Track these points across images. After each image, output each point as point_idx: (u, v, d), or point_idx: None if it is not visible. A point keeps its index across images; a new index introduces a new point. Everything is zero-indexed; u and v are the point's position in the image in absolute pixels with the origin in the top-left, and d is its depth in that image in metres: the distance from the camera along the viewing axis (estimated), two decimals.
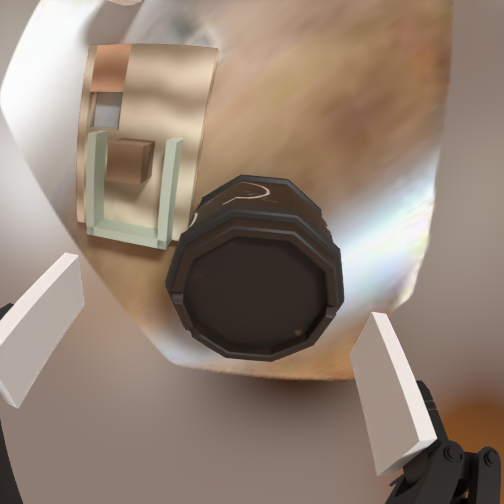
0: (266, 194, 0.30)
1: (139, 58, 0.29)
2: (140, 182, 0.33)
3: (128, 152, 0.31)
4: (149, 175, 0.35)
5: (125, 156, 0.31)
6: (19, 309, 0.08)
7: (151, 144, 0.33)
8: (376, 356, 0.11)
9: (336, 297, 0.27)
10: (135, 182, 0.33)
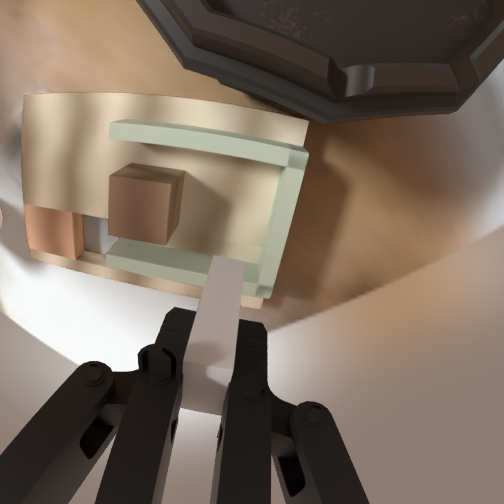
0: None
1: (35, 192, 0.23)
2: (168, 183, 0.19)
3: (119, 201, 0.20)
4: (178, 172, 0.22)
5: (126, 207, 0.20)
6: (207, 312, 0.11)
7: (127, 166, 0.21)
8: None
9: None
10: (167, 192, 0.19)
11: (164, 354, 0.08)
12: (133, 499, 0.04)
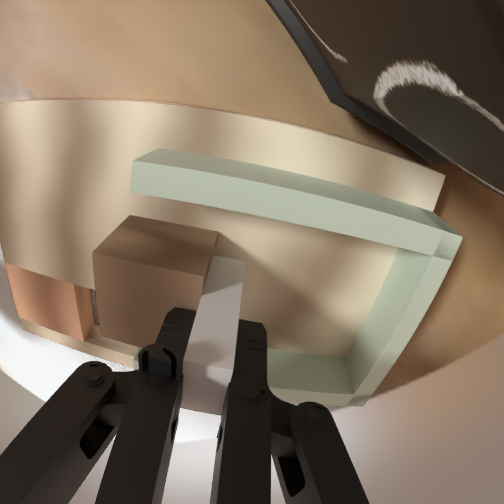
0: None
1: (19, 250, 0.15)
2: (199, 273, 0.11)
3: (113, 295, 0.12)
4: (209, 238, 0.14)
5: (126, 304, 0.12)
6: (207, 312, 0.11)
7: (122, 226, 0.13)
8: None
9: None
10: (197, 288, 0.11)
11: (164, 354, 0.08)
12: (133, 499, 0.04)
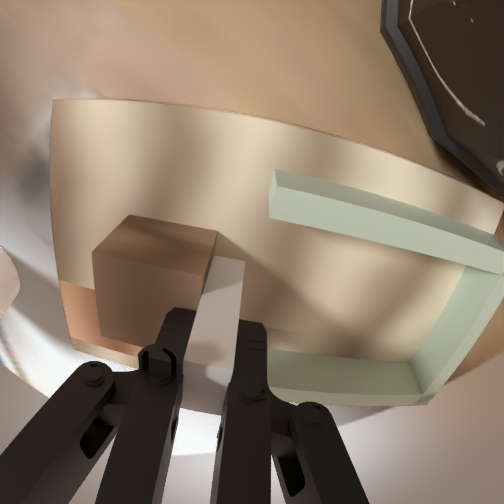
0: None
1: (81, 267, 0.16)
2: (198, 272, 0.11)
3: (113, 294, 0.12)
4: (208, 237, 0.14)
5: (126, 304, 0.12)
6: (207, 312, 0.11)
7: (122, 225, 0.13)
8: None
9: None
10: (196, 288, 0.11)
11: (164, 354, 0.08)
12: (133, 499, 0.04)
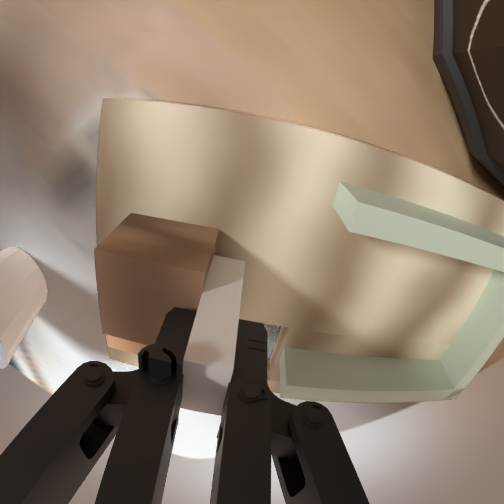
0: None
1: None
2: (200, 270, 0.11)
3: (115, 291, 0.12)
4: (210, 235, 0.14)
5: (128, 301, 0.12)
6: (207, 312, 0.11)
7: (124, 223, 0.13)
8: None
9: None
10: (198, 285, 0.11)
11: (164, 354, 0.08)
12: (133, 499, 0.04)
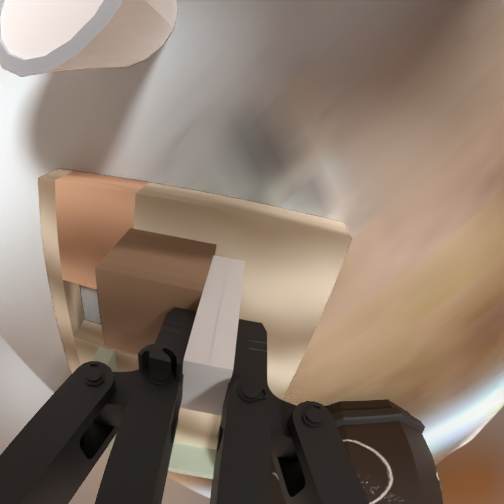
0: (390, 484, 0.15)
1: None
2: None
3: (156, 300, 0.12)
4: None
5: (147, 309, 0.12)
6: (207, 312, 0.11)
7: None
8: None
9: None
10: None
11: (164, 354, 0.08)
12: (133, 499, 0.04)
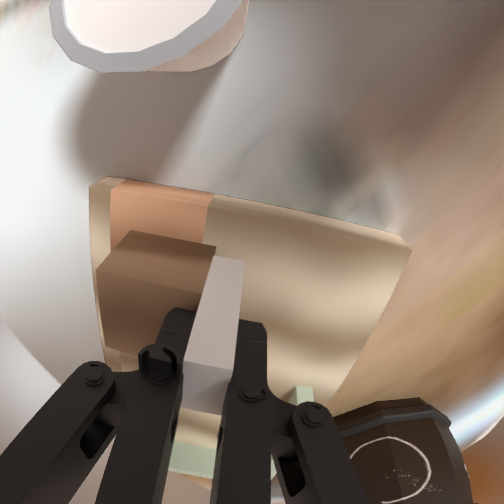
0: (429, 475, 0.16)
1: (230, 248, 0.15)
2: None
3: (156, 302, 0.12)
4: None
5: (148, 311, 0.12)
6: (207, 312, 0.11)
7: None
8: None
9: None
10: None
11: (164, 354, 0.08)
12: (133, 499, 0.04)
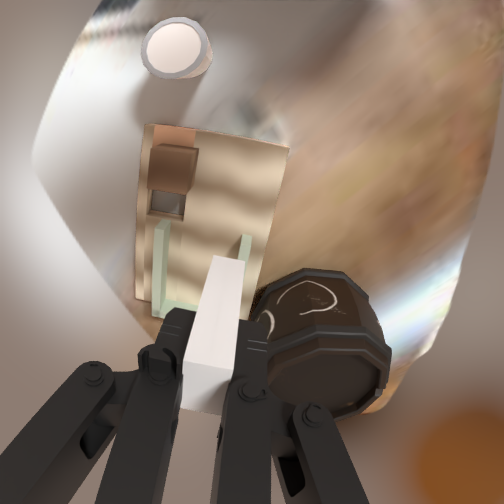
0: (335, 303, 0.34)
1: (205, 148, 0.33)
2: (186, 192, 0.32)
3: (173, 159, 0.30)
4: (192, 184, 0.35)
5: (169, 164, 0.30)
6: (207, 312, 0.11)
7: (196, 152, 0.32)
8: None
9: (385, 384, 0.31)
10: (180, 192, 0.32)
11: (164, 354, 0.08)
12: (133, 499, 0.04)
